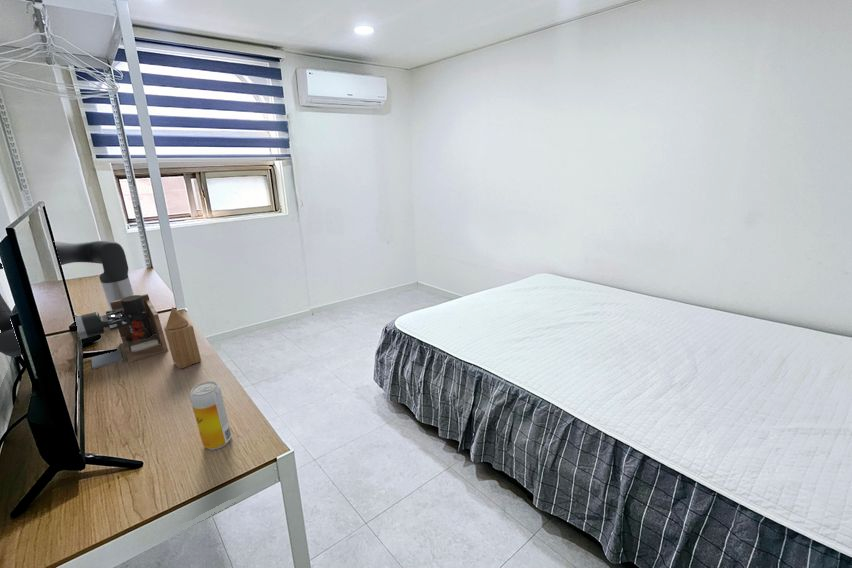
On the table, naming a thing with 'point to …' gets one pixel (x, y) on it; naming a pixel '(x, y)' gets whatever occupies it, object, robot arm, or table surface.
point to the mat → (106, 359)
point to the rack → (155, 329)
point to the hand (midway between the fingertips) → (144, 312)
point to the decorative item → (181, 340)
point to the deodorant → (139, 327)
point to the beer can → (210, 415)
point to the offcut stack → (144, 345)
